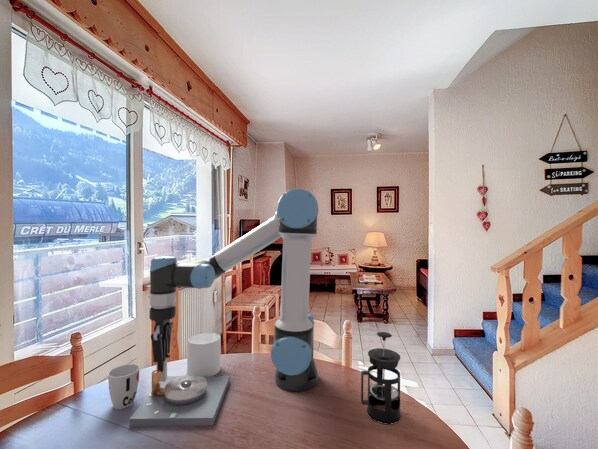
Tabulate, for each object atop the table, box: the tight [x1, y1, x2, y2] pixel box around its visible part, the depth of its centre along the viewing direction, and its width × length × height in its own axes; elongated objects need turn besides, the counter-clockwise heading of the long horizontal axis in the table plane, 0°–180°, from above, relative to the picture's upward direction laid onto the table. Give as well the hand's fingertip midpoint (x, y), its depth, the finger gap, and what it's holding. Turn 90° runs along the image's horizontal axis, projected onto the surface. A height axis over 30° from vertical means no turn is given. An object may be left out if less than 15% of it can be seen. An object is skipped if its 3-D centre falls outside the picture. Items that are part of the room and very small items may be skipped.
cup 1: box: [107, 363, 140, 410], centre depth 87 cm, size 8×8×10 cm
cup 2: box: [186, 332, 222, 376], centre depth 107 cm, size 12×12×12 cm
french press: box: [360, 331, 402, 425], centre depth 84 cm, size 12×9×23 cm
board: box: [128, 375, 231, 427], centre depth 88 cm, size 22×22×2 cm
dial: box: [150, 369, 207, 405], centre depth 88 cm, size 16×12×6 cm
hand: (161, 380), depth 92 cm, fingers closed
